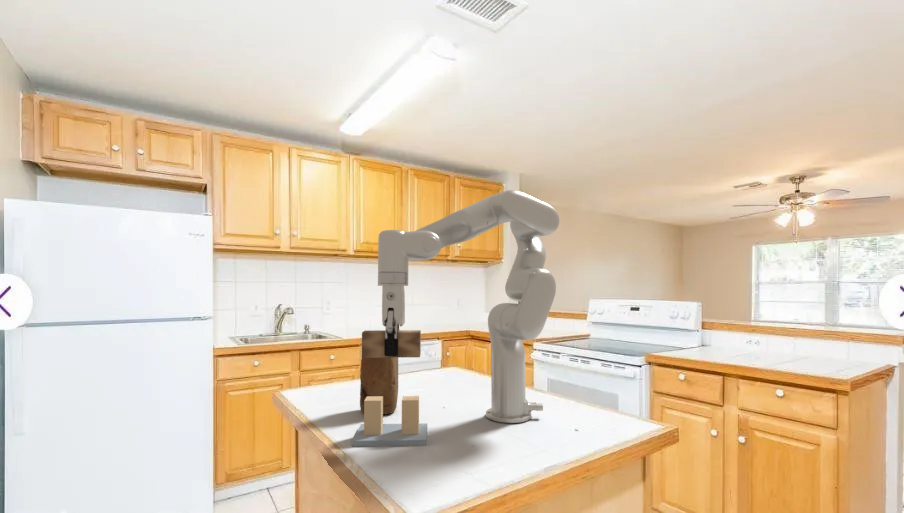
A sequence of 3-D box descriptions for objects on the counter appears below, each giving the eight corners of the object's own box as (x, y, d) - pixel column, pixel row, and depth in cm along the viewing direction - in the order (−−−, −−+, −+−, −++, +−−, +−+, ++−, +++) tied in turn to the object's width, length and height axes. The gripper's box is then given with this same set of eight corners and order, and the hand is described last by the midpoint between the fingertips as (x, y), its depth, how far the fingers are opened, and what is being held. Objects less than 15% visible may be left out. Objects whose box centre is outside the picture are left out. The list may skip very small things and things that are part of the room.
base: (427, 428, 114) (427, 391, 115) (426, 445, 102) (426, 404, 103) (361, 428, 114) (361, 392, 114) (352, 446, 102) (352, 405, 102)
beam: (420, 354, 112) (420, 330, 112) (419, 357, 107) (419, 332, 108) (364, 354, 111) (364, 330, 112) (361, 357, 107) (361, 332, 107)
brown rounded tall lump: (399, 408, 132) (400, 341, 133) (393, 416, 125) (394, 344, 126) (364, 407, 133) (365, 340, 134) (356, 415, 126) (357, 343, 127)
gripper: (405, 279, 102) (405, 360, 101) (410, 280, 119) (409, 349, 118) (373, 279, 102) (371, 360, 101) (382, 280, 119) (381, 349, 118)
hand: (392, 353), depth 109 cm, fingers closed on beam, 4 cm apart
